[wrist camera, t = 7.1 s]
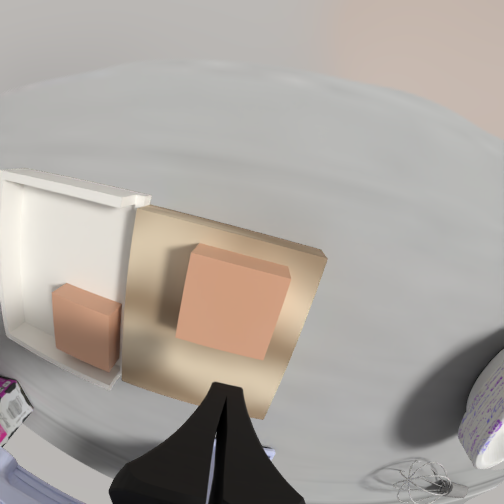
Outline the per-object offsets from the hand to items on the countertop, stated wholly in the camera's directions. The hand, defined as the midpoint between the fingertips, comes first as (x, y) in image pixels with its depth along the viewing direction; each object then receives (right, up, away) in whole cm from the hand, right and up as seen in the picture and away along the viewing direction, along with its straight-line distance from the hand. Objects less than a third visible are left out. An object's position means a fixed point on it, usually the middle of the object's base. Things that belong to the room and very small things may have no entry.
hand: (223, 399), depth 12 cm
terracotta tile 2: (0, +4, +4) cm, 6 cm away
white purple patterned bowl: (+29, -7, +9) cm, 31 cm away
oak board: (-1, +2, +7) cm, 8 cm away
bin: (-13, +5, +7) cm, 15 cm away
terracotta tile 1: (-11, +1, +7) cm, 13 cm away
